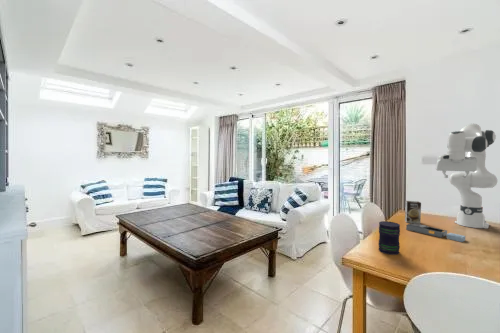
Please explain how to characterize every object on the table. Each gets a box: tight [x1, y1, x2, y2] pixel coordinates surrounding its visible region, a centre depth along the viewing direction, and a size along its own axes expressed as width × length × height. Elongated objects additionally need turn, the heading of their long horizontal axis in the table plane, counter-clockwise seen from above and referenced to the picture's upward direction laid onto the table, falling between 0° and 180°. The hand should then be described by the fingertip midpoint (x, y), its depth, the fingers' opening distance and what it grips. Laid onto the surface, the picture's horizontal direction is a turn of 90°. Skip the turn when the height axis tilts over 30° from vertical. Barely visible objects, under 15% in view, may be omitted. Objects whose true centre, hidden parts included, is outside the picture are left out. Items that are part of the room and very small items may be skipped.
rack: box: [405, 223, 448, 239], centre depth 162 cm, size 8×20×4 cm, turn 32°
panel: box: [446, 232, 466, 243], centre depth 148 cm, size 5×8×3 cm, turn 32°
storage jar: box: [378, 220, 401, 256], centre depth 130 cm, size 10×10×15 cm
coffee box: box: [404, 200, 422, 224], centre depth 187 cm, size 9×6×16 cm
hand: (455, 178), depth 155 cm, fingers open, 8 cm apart
